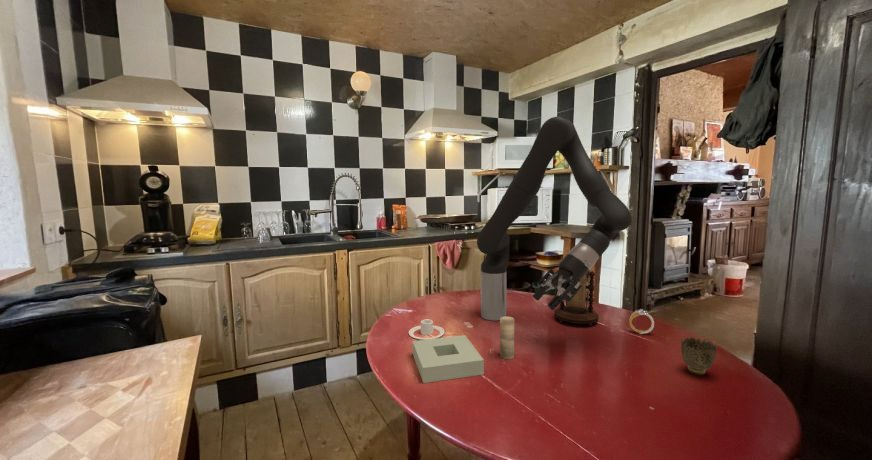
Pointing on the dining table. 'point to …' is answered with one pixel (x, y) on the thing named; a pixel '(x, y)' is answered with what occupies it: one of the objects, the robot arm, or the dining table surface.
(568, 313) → the scroll
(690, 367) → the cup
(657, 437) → the dining table surface
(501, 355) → the birch peg
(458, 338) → the square hole plate
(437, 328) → the candle holder
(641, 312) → the ring
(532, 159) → the robot arm
